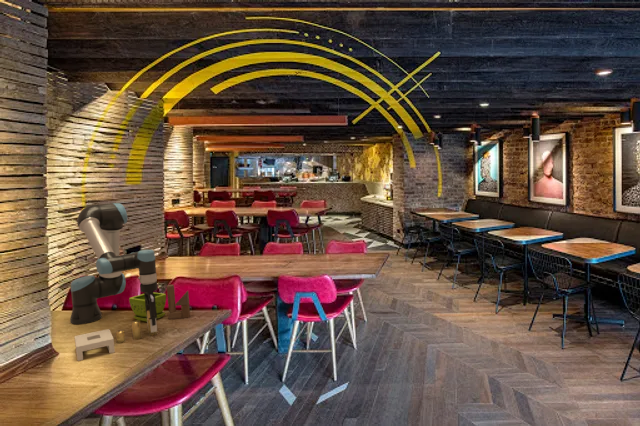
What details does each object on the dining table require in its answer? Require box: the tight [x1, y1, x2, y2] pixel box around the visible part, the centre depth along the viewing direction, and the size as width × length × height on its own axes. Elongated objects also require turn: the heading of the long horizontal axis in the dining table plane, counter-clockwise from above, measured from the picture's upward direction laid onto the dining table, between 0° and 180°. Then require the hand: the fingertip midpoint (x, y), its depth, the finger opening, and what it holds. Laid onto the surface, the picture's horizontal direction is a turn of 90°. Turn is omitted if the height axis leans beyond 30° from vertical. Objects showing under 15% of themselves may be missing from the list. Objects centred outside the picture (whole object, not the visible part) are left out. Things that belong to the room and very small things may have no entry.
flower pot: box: [128, 291, 167, 323], centre depth 227 cm, size 14×14×13 cm
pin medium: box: [131, 319, 142, 340], centre depth 198 cm, size 4×4×8 cm
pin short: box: [115, 329, 126, 344], centre depth 194 cm, size 4×4×5 cm
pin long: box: [147, 310, 158, 337], centre depth 202 cm, size 4×4×12 cm
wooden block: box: [166, 284, 191, 320], centre depth 226 cm, size 4×11×18 cm, turn 95°
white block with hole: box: [74, 328, 116, 362], centre depth 185 cm, size 16×14×6 cm
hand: (152, 329), depth 202 cm, fingers open, 7 cm apart
